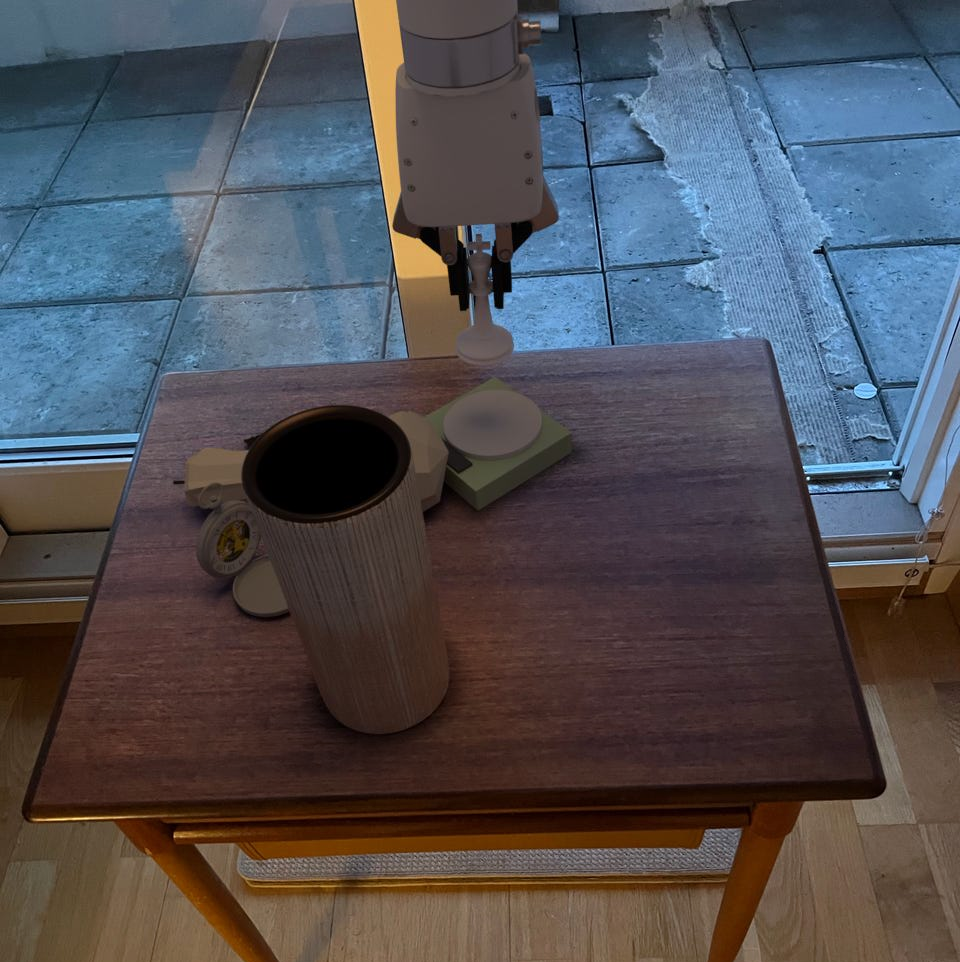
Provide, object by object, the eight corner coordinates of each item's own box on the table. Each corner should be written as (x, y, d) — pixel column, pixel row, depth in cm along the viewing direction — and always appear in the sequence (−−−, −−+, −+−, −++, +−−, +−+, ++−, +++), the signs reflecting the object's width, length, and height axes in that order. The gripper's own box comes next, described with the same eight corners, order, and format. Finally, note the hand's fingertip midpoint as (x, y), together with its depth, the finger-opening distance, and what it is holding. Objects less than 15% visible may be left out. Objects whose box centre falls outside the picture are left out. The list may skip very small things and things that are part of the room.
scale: (496, 396, 92) (494, 371, 90) (572, 452, 87) (572, 427, 84) (405, 449, 89) (400, 424, 86) (477, 511, 83) (475, 486, 81)
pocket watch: (309, 619, 77) (278, 534, 69) (208, 623, 78) (166, 539, 70) (320, 545, 82) (293, 458, 74) (225, 549, 83) (188, 463, 75)
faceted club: (452, 529, 81) (172, 548, 83) (459, 482, 87) (200, 500, 90) (438, 433, 75) (139, 457, 78) (447, 391, 82) (172, 414, 85)
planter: (316, 740, 70) (228, 527, 52) (326, 633, 76) (250, 409, 58) (451, 732, 70) (409, 514, 52) (450, 625, 76) (412, 396, 58)
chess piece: (456, 330, 81) (447, 218, 73) (514, 329, 81) (511, 216, 73) (453, 366, 78) (444, 254, 70) (513, 365, 78) (510, 252, 70)
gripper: (583, 14, 63) (581, 268, 77) (345, 32, 64) (387, 278, 79) (587, 63, 58) (584, 323, 73) (331, 81, 59) (379, 333, 74)
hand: (482, 298), depth 76 cm, fingers closed on chess piece
